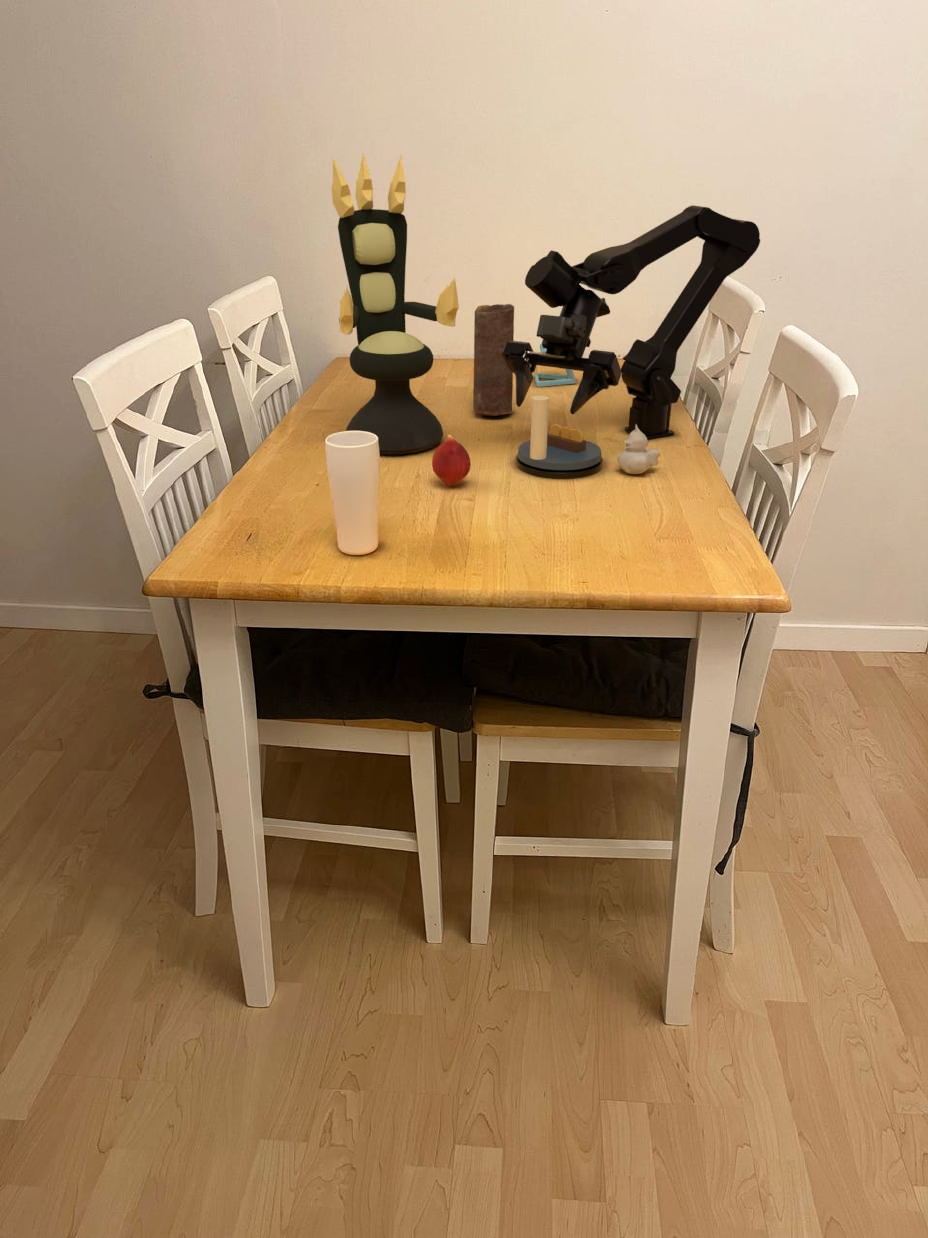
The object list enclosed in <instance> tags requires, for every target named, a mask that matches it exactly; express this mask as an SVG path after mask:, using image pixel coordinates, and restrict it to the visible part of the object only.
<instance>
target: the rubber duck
mask: <svg viewBox="0 0 928 1238" xmlns="http://www.w3.org/2000/svg"><path fill="white" fill-rule="evenodd" d="M623 443H624V444H625V448H624V449H623V450H622V451H621V452H620V453H619V455H618V456H617V463H618V466H619V468H621V470H622V471H624V472H625V473H626V474H629V475H641V474H643V473H645V472H646V471H647V470H648V469H649V468H650V467H656V466H658V465H659V457H660V456H661V451H660V449H658V448H649V449H647V448H648V446H649V439H647V438H646V436H645V435H644V434H643V433H642V432H641V431H640V430H639V429H638V427H637V425H635V430H634V431H632V432H631V433H630V432H629V435H628V437H627V438H626V439H625V440H624V441H623Z"/></svg>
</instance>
